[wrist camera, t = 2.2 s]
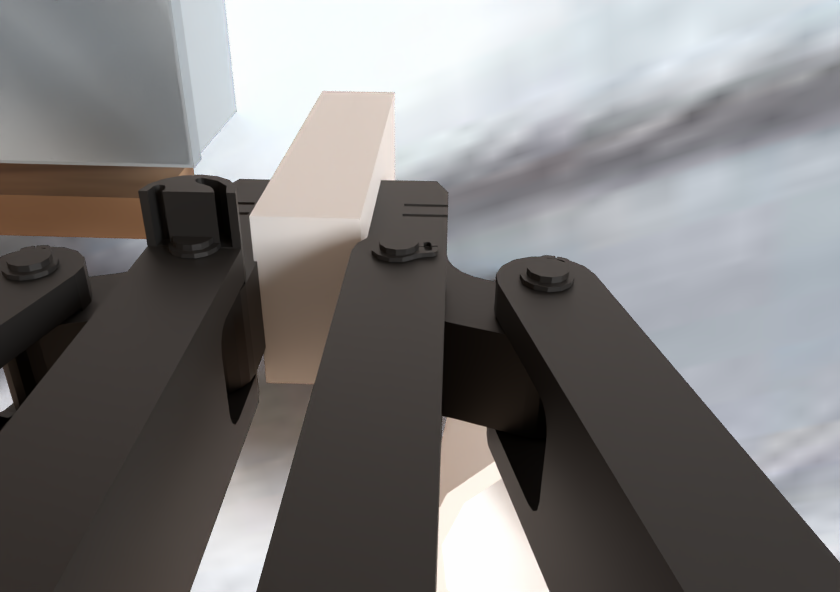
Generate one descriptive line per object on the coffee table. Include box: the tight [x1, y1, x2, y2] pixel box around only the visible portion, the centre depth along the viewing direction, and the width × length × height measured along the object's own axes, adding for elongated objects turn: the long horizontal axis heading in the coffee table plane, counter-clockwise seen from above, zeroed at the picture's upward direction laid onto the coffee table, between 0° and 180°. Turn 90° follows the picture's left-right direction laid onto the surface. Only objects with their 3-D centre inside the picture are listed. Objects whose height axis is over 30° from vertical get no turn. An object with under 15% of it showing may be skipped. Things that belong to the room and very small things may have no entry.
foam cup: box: [436, 417, 549, 592], centre depth 29 cm, size 10×9×13 cm
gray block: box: [0, 0, 237, 168], centre depth 26 cm, size 7×7×6 cm
